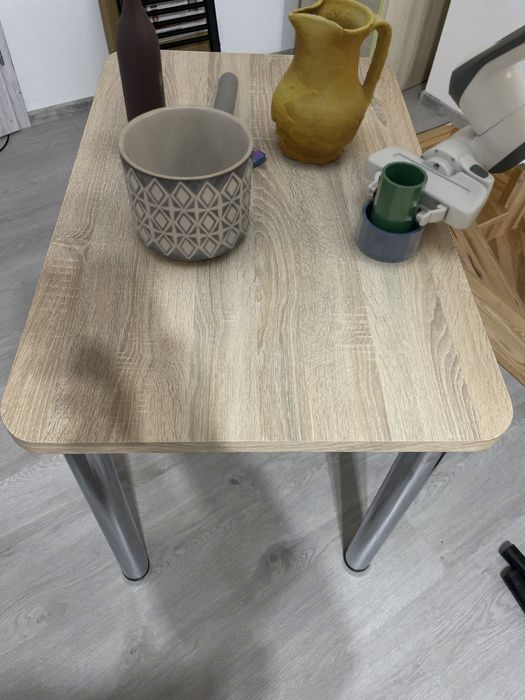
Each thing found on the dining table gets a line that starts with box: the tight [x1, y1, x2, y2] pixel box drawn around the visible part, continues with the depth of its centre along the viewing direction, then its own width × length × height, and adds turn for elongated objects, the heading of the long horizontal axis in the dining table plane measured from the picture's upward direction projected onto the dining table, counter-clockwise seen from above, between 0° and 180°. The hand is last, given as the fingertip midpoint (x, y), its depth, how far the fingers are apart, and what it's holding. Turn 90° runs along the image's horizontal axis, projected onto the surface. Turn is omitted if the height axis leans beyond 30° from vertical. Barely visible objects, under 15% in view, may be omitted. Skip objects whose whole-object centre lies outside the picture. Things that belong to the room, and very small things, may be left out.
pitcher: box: [270, 0, 393, 165], centre depth 97 cm, size 17×19×25 cm
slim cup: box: [369, 161, 428, 234], centre depth 85 cm, size 7×7×12 cm
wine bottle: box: [114, 0, 167, 124], centre depth 91 cm, size 7×7×30 cm
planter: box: [117, 104, 255, 262], centre depth 83 cm, size 19×19×16 cm
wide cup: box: [355, 197, 426, 263], centre depth 88 cm, size 10×10×6 cm
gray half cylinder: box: [213, 71, 239, 116], centre depth 115 cm, size 4×20×2 cm, turn 178°
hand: (393, 206), depth 83 cm, fingers open, 8 cm apart
